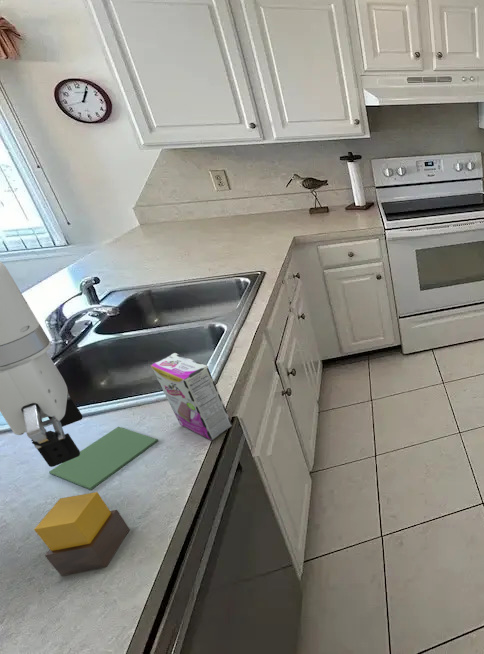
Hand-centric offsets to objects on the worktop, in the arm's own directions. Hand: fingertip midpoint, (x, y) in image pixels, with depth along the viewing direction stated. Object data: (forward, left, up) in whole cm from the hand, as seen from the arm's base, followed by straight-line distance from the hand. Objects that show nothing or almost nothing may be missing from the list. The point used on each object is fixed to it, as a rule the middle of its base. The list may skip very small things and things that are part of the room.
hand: (68, 440), depth 62 cm
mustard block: (+3, -5, -13) cm, 14 cm away
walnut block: (+3, -5, -18) cm, 19 cm away
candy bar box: (-5, +20, -18) cm, 27 cm away
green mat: (-17, +8, -18) cm, 26 cm away
